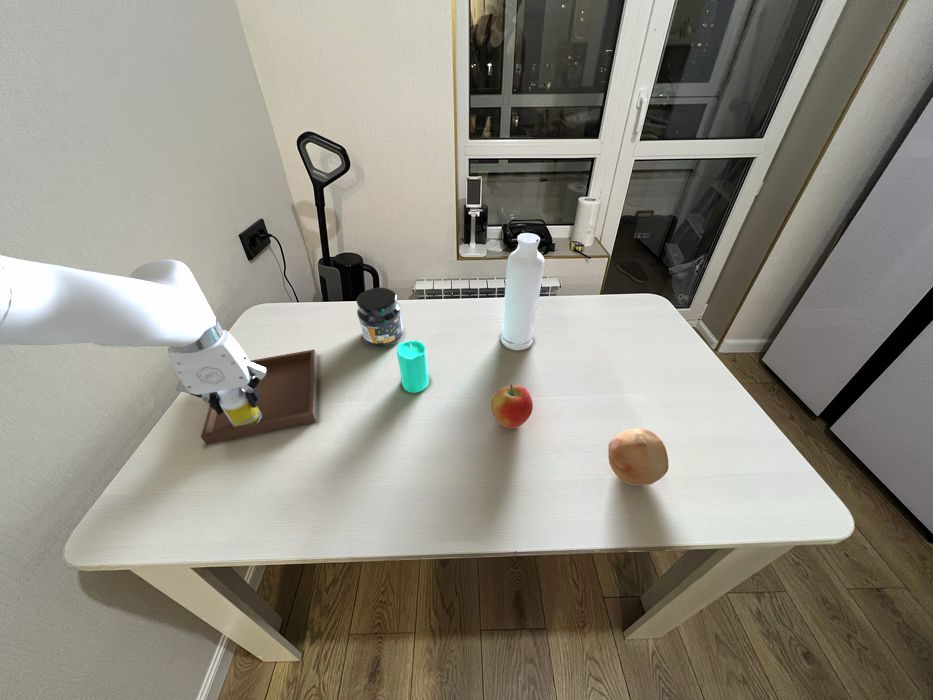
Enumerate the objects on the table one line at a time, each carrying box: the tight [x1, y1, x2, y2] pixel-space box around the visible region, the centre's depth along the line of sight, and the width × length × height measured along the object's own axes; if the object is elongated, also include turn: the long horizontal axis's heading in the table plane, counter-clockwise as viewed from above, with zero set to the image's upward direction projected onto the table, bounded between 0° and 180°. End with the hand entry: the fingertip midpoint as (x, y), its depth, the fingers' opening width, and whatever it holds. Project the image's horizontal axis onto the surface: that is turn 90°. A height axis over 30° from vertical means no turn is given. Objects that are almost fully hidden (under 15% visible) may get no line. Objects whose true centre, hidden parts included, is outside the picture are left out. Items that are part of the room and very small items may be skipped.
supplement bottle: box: [217, 387, 261, 427], centre depth 74 cm, size 5×5×10 cm
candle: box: [396, 340, 429, 394], centre depth 82 cm, size 6×6×12 cm
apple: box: [490, 384, 534, 429], centre depth 75 cm, size 8×8×10 cm
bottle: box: [500, 232, 546, 351], centre depth 89 cm, size 8×8×28 cm
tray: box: [200, 348, 318, 446], centre depth 82 cm, size 21×21×3 cm
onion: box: [607, 427, 669, 486], centre depth 66 cm, size 10×10×10 cm
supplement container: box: [356, 287, 404, 348], centre depth 95 cm, size 10×10×12 cm
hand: (238, 405), depth 74 cm, fingers closed on supplement bottle, 5 cm apart
